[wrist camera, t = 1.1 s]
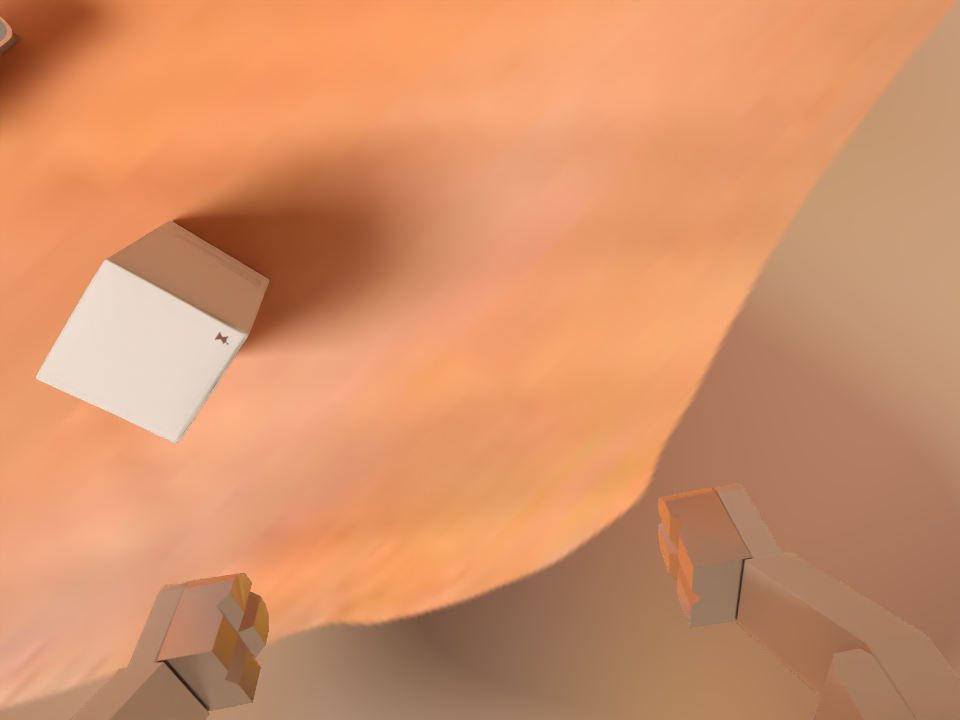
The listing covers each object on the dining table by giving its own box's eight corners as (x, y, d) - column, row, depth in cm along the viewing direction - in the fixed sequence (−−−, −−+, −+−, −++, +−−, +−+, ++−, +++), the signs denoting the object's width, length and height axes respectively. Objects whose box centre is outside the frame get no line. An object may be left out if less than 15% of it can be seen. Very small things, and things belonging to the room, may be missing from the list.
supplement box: (169, 216, 39) (105, 251, 28) (273, 279, 42) (254, 335, 30) (112, 308, 40) (28, 379, 29) (217, 364, 43) (178, 448, 32)
